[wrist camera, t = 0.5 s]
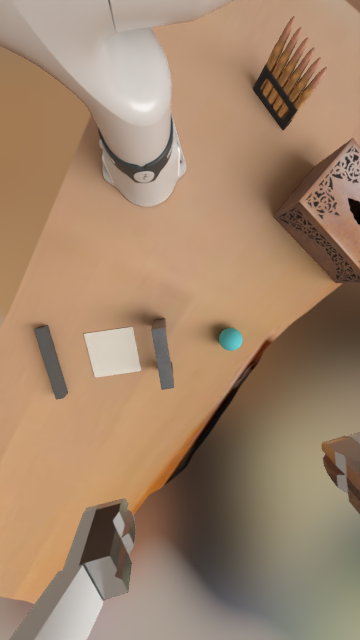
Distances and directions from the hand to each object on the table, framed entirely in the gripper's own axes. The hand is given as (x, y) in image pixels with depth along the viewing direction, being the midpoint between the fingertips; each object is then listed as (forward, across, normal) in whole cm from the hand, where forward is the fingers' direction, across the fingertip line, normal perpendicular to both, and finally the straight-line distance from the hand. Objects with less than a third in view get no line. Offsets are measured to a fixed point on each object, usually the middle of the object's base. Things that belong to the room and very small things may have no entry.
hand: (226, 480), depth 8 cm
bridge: (+45, +6, +9) cm, 46 cm away
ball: (+42, -12, +11) cm, 45 cm away
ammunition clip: (+45, -32, -38) cm, 67 cm away
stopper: (+45, +36, +5) cm, 57 cm away
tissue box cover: (+45, -43, -10) cm, 63 cm away
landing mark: (+45, +20, +7) cm, 49 cm away
